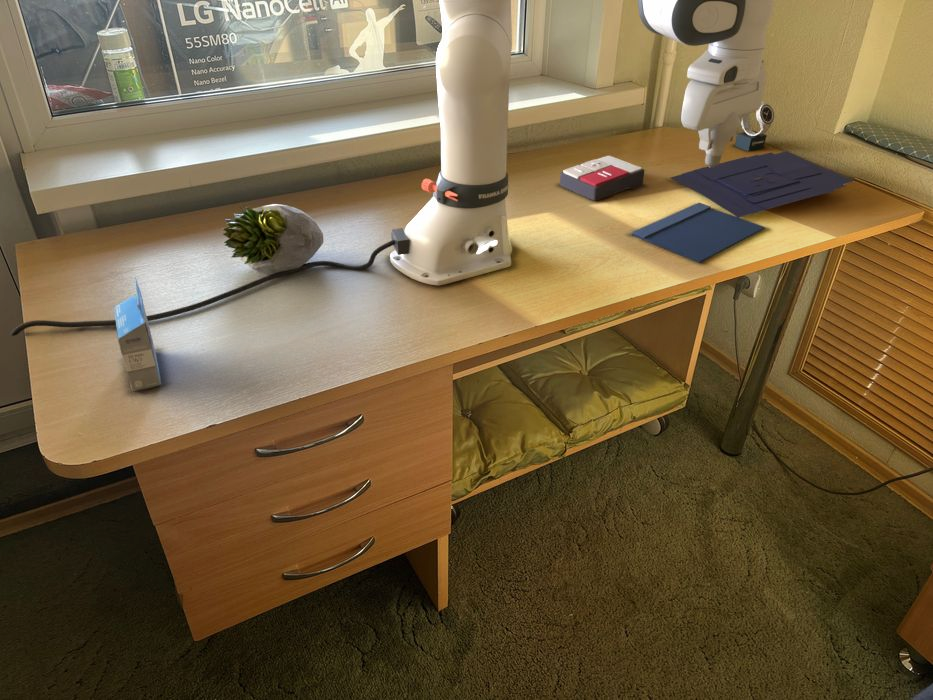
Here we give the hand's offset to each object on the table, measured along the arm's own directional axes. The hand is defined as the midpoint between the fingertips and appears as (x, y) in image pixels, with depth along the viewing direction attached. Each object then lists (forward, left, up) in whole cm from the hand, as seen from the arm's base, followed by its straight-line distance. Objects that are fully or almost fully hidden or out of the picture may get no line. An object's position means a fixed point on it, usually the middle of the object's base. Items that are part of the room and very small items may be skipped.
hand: (716, 145), depth 126 cm
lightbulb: (0, 0, -4) cm, 4 cm away
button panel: (+4, +27, -17) cm, 32 cm away
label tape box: (-97, +23, -17) cm, 101 cm away
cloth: (0, 0, -17) cm, 17 cm away
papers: (+28, +3, -17) cm, 33 cm away
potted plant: (-69, +38, -17) cm, 81 cm away
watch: (+53, +20, -17) cm, 59 cm away
